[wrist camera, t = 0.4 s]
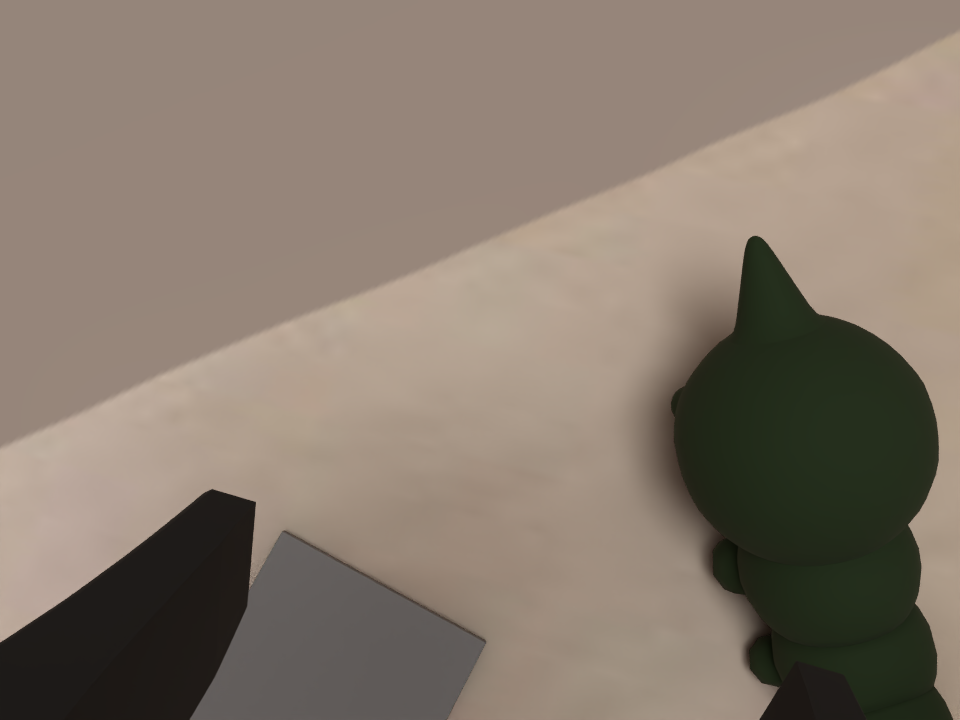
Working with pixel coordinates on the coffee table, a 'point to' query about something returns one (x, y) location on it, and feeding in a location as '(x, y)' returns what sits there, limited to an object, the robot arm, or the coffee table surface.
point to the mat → (336, 648)
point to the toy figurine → (816, 490)
